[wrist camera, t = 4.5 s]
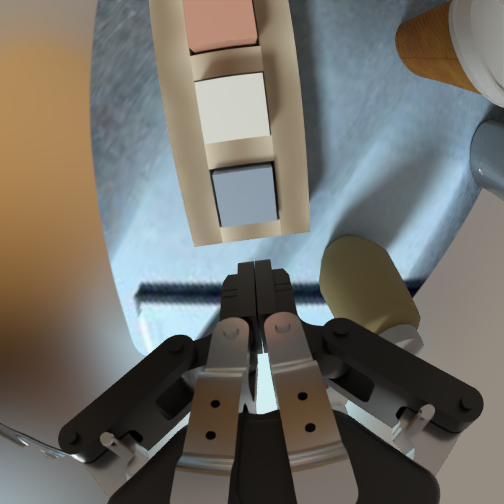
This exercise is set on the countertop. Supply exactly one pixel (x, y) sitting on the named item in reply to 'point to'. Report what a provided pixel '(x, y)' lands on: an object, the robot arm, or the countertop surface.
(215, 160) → the key box
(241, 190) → the slate key
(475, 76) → the disposable coffee cup
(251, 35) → the terracotta key
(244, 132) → the white key
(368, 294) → the squeeze bottle
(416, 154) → the countertop surface
